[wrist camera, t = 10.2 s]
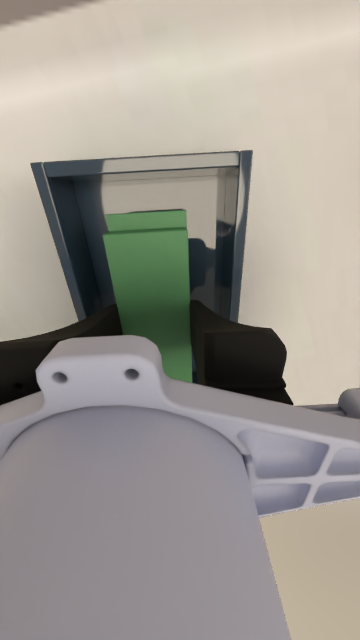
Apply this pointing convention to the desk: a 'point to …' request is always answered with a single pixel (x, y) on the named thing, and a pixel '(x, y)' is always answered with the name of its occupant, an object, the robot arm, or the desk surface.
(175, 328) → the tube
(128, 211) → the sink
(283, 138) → the desk surface
